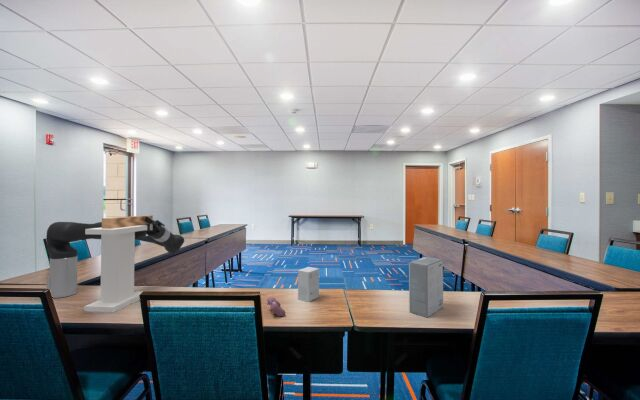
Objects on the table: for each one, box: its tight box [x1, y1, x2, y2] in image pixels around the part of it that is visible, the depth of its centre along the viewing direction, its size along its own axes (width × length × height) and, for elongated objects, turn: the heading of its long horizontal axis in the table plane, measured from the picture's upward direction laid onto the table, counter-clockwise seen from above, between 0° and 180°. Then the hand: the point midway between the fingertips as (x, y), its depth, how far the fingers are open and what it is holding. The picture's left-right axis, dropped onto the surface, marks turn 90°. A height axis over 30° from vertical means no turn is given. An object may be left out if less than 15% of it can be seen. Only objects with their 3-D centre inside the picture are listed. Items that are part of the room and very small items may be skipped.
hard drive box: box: [408, 256, 444, 318], centre depth 109 cm, size 16×8×20 cm, turn 134°
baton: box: [101, 215, 154, 229], centre depth 120 cm, size 24×4×4 cm, turn 176°
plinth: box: [83, 225, 147, 313], centre depth 113 cm, size 18×12×32 cm, turn 176°
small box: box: [297, 266, 320, 303], centre depth 121 cm, size 8×6×13 cm
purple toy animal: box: [266, 296, 286, 317], centre depth 105 cm, size 10×5×7 cm, turn 21°
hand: (138, 218), depth 125 cm, fingers open, 6 cm apart
